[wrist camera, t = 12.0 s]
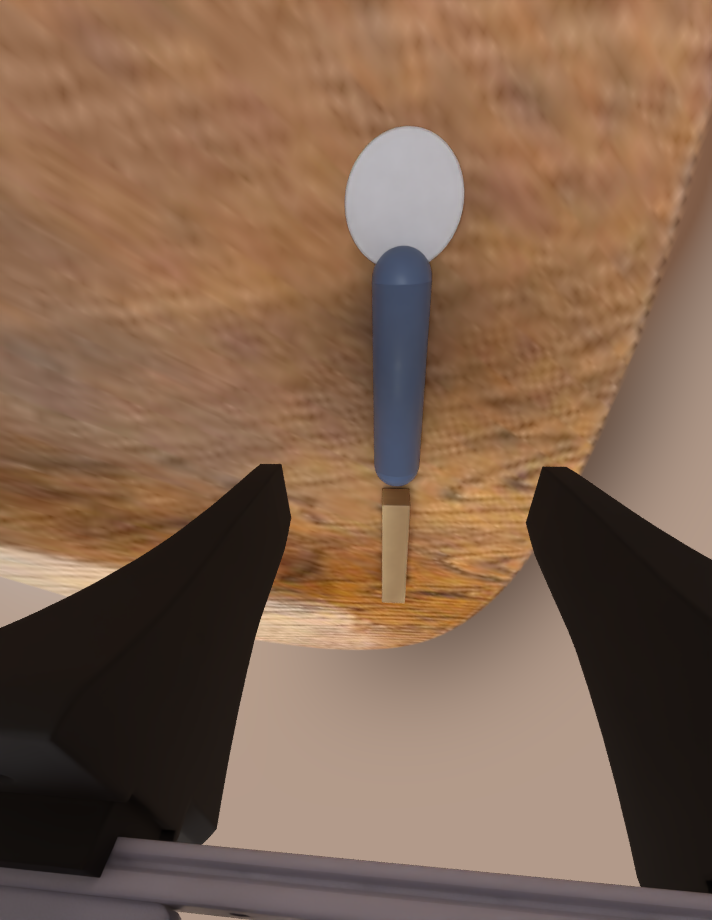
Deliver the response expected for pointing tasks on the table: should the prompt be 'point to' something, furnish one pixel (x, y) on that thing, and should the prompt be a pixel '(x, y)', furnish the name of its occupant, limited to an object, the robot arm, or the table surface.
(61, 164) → the table surface
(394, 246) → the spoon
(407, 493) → the baton
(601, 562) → the robot arm
